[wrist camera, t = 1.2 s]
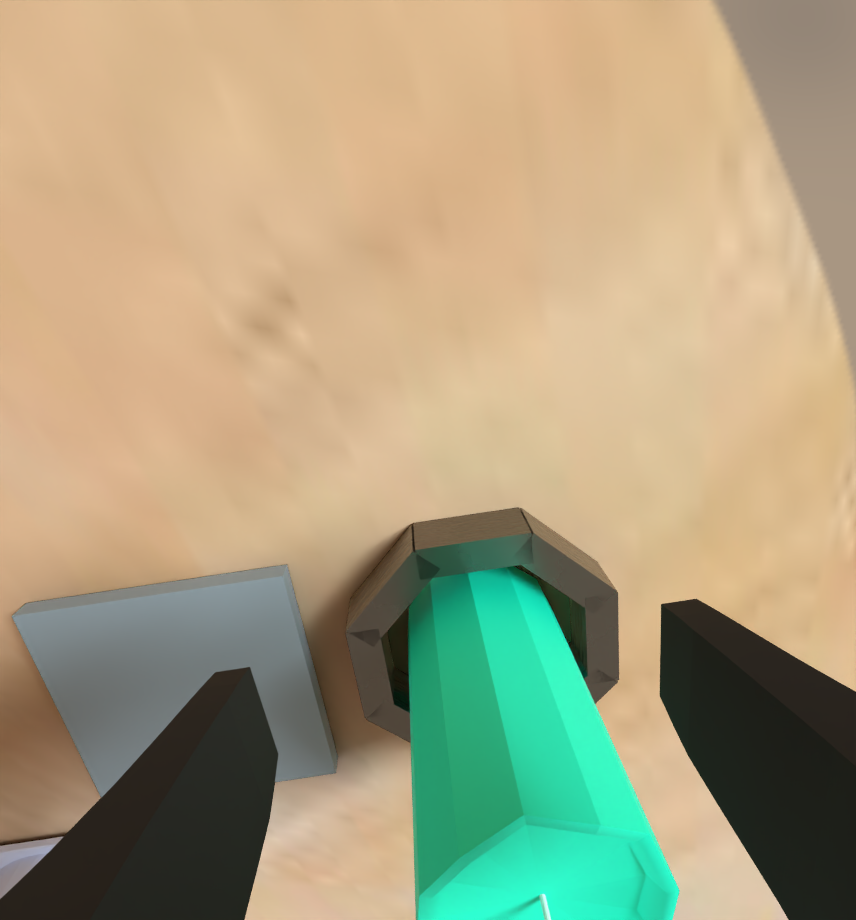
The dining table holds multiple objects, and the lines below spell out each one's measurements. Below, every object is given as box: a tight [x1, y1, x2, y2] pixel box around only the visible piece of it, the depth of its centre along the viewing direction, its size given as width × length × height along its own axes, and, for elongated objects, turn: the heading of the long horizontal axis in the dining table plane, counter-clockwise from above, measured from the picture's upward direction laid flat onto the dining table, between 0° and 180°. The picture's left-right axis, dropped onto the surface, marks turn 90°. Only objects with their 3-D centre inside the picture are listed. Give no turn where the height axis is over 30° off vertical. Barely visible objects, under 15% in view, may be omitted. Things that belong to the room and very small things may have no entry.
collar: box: [345, 508, 619, 743], centre depth 21 cm, size 10×10×2 cm
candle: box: [408, 566, 679, 920], centre depth 16 cm, size 6×6×12 cm
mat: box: [12, 565, 338, 798], centre depth 22 cm, size 10×10×1 cm
